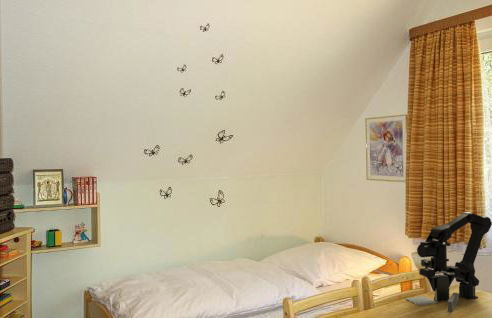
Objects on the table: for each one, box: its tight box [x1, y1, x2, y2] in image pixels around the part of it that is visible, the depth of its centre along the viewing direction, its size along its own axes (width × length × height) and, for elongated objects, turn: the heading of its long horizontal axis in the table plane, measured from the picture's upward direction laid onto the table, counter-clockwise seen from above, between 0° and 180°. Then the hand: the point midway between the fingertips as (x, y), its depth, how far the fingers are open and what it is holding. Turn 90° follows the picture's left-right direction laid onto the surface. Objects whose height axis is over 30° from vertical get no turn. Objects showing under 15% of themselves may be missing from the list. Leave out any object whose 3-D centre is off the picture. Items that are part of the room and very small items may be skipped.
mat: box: [404, 295, 439, 306], centre depth 189 cm, size 10×9×1 cm
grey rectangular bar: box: [447, 292, 459, 312], centre depth 182 cm, size 15×2×4 cm, turn 145°
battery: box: [433, 274, 450, 302], centre depth 191 cm, size 7×4×11 cm, turn 105°
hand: (440, 290), depth 191 cm, fingers closed on battery, 7 cm apart
